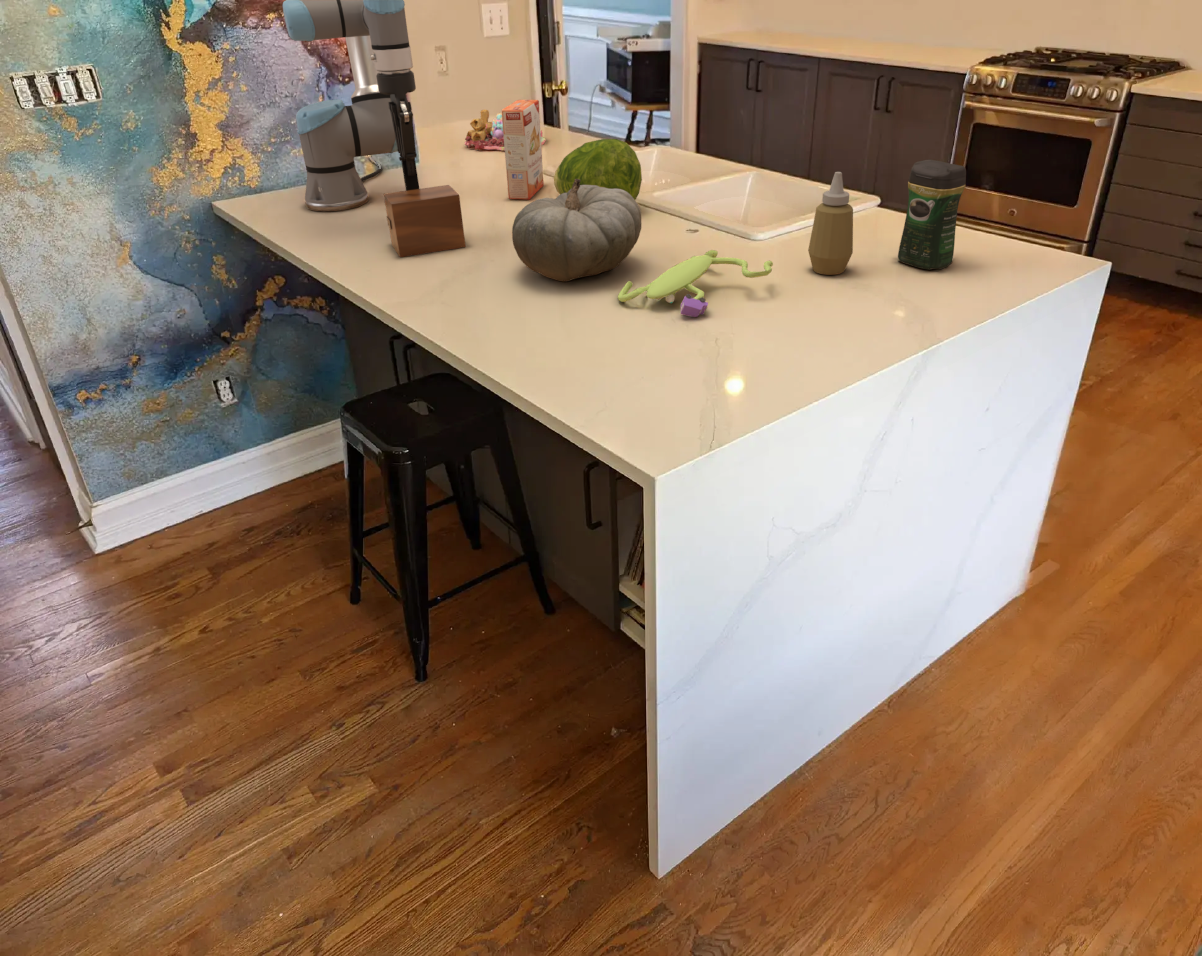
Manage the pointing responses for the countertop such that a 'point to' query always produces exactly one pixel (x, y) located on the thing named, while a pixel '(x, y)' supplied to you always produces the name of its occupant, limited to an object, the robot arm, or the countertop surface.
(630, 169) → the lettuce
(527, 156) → the cracker box
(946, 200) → the coffee jar
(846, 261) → the squeeze bottle
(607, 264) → the gourd
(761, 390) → the countertop surface
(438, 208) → the wooden storage crate
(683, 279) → the figurine
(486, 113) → the coral reef ornament
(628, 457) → the countertop surface
